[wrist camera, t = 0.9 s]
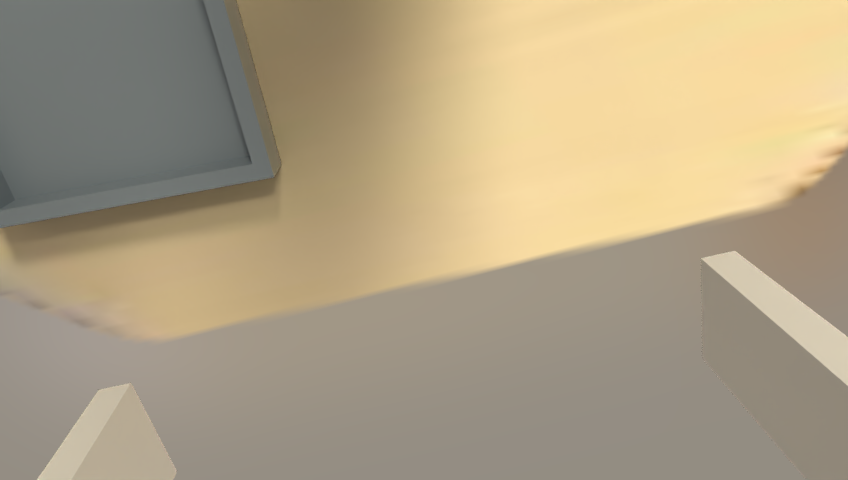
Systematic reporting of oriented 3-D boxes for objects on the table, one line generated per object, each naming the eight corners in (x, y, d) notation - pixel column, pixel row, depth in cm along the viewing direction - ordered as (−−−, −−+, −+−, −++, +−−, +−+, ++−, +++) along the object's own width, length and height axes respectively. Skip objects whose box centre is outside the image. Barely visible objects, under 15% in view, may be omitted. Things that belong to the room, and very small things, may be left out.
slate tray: (-136, -94, 30) (-184, -101, 27) (193, -155, 30) (175, -169, 27) (14, 213, 37) (-14, 230, 34) (281, 164, 37) (274, 177, 34)
